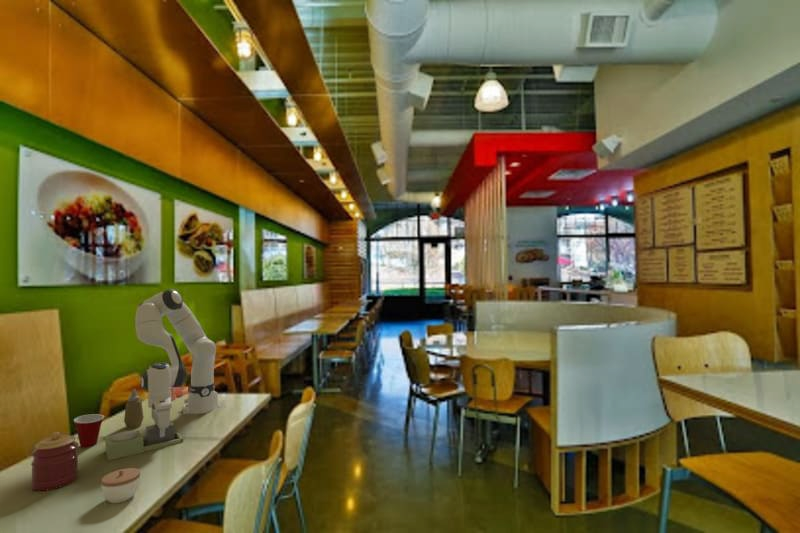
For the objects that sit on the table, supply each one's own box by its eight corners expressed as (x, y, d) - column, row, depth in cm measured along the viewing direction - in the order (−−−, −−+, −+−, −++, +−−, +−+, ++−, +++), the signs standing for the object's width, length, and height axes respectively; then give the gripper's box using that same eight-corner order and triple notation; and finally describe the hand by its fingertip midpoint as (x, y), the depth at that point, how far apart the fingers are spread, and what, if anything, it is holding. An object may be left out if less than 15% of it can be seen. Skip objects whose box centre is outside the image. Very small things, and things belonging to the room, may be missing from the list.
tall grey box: (145, 445, 183) (145, 426, 183) (171, 439, 189) (171, 421, 189) (147, 449, 179) (147, 429, 179) (174, 443, 185) (174, 424, 185)
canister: (72, 470, 160) (72, 423, 160) (83, 480, 152) (83, 430, 152) (27, 484, 150) (27, 433, 150) (35, 495, 141) (35, 442, 142)
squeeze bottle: (147, 423, 210) (147, 387, 210) (135, 429, 202) (135, 391, 202) (132, 423, 211) (132, 387, 211) (119, 429, 203) (119, 391, 203)
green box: (105, 451, 177) (105, 434, 177) (177, 435, 194) (177, 419, 194) (108, 461, 168) (108, 442, 168) (183, 443, 184) (183, 426, 184)
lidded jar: (147, 490, 144) (147, 462, 144) (128, 507, 133) (128, 477, 133) (114, 491, 144) (114, 463, 144) (93, 508, 133) (93, 478, 133)
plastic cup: (93, 449, 179) (93, 421, 179) (67, 450, 178) (67, 421, 179) (110, 439, 190) (110, 412, 190) (85, 440, 189) (85, 413, 190)
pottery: (172, 394, 264) (172, 378, 264) (188, 393, 265) (188, 377, 265) (158, 402, 246) (158, 385, 247) (176, 401, 247) (175, 384, 248)
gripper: (147, 397, 191) (147, 428, 190) (155, 408, 175) (155, 442, 174) (163, 394, 195) (163, 425, 194) (172, 405, 179) (172, 438, 178)
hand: (160, 433), depth 184 cm, fingers open, 8 cm apart
